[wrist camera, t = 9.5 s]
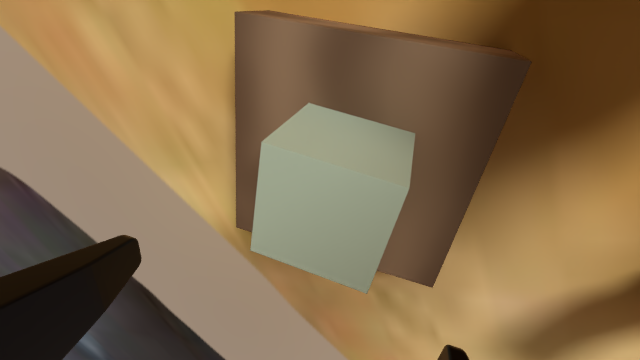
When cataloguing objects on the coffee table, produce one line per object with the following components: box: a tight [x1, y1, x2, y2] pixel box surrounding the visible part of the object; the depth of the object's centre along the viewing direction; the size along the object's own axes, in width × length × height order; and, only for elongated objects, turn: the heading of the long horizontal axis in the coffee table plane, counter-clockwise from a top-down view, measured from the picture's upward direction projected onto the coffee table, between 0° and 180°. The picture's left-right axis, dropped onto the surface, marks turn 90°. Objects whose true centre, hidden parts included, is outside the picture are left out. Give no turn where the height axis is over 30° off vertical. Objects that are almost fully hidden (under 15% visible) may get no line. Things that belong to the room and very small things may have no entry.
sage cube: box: [250, 103, 415, 294], centre depth 14 cm, size 5×5×5 cm
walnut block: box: [235, 11, 531, 288], centre depth 18 cm, size 12×12×4 cm
